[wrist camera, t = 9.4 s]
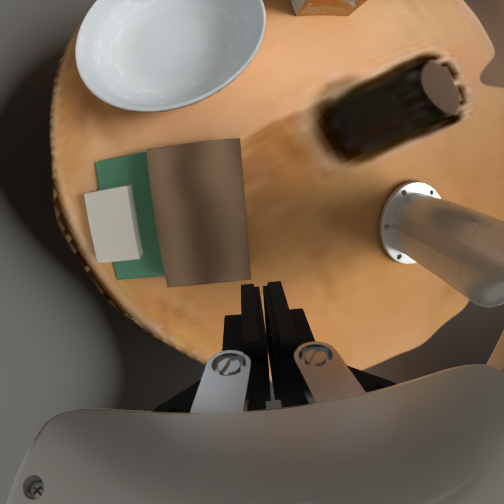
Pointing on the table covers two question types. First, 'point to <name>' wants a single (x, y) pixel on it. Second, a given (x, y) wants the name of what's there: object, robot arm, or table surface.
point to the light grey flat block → (114, 224)
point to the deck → (200, 212)
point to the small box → (325, 7)
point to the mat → (137, 174)
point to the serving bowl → (166, 50)
